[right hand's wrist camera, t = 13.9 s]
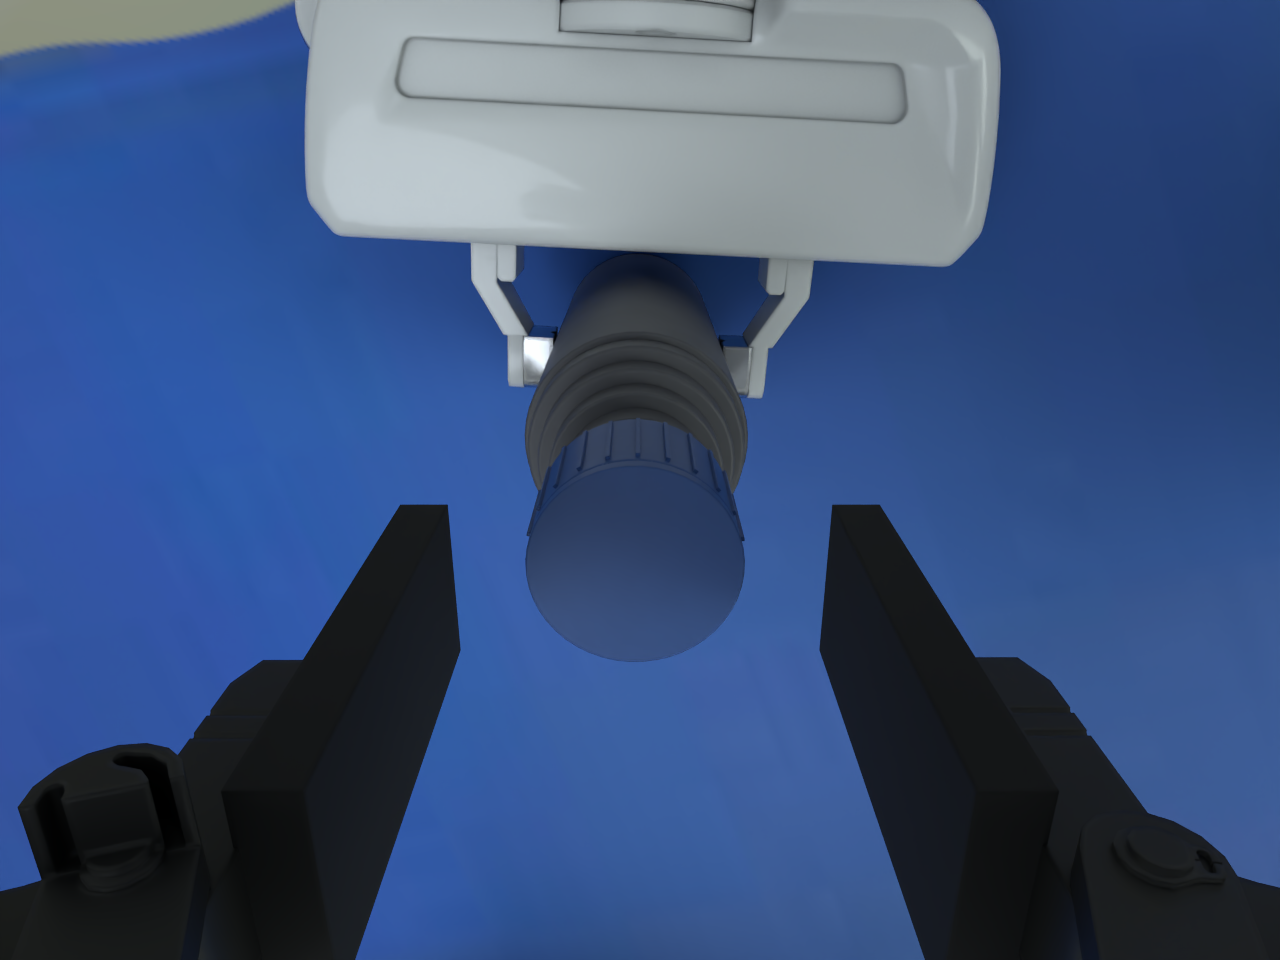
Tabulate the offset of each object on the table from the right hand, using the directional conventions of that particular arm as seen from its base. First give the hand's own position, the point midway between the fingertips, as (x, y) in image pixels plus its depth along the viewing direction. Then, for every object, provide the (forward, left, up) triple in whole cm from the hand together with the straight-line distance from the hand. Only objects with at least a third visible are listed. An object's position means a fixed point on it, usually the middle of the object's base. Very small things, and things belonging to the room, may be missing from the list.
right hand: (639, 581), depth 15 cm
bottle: (0, 0, -22) cm, 22 cm away
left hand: (-1, +1, -16) cm, 16 cm away
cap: (0, 0, -4) cm, 4 cm away
